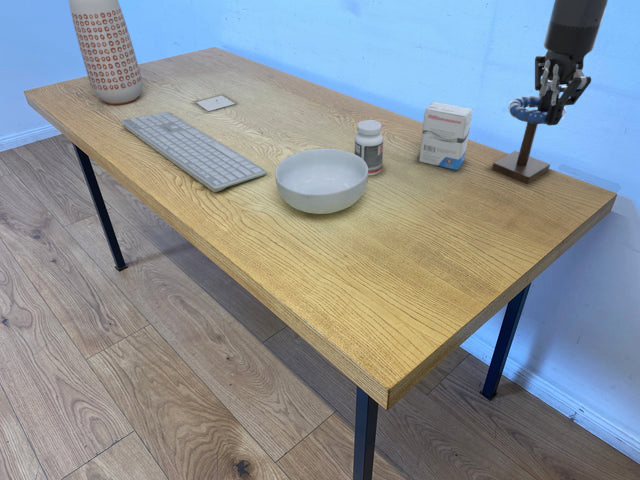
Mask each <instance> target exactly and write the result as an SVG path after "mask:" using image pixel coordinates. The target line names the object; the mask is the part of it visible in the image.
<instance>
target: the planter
mask: <svg viewBox="0 0 640 480" xmlns="http://www.w3.org/2000/svg"><path fill="white" fill-rule="evenodd" d="M68 4H69V9H70V10H69V11H70V14H71V19H72V23H73V28H74V31H75V36H76V40H77V42H78V43H77V44H78V45H79V46H78V47H79V50H80V54H81V57H82V61H83V65H84V68H85V71H86V74H87V78H88V81H89V85H90V86H91V89H92V91H93V93H94V94H95V96H97V98H99V99H100V100H101V101H103V102H104V103H105V104H107V105H110V106H122V105H127V104H131V103H133V102H135V101H136V100H138V97H139V95H140V94H141V92H142V89H143V79H142V74H141V70H140V67H139V64H138V60H137V55H136V52H135V48H134V46H133V42H132V39H131V35H130V33H129V30H128V25H127V23H126V19H125V17H124V13H123V11H122V7H121V5H120V2H119V0H68Z"/></svg>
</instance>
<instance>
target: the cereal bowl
mask: <svg viewBox="0 0 640 480" xmlns="http://www.w3.org/2000/svg"><path fill="white" fill-rule="evenodd" d="M274 177H275V183H276V184H275V185H276V188H277V191H278V194H279V195H280V196H281V198H282V200H283V201H284V202H285V203H286V204H287V205H289V206H290V207H292V208H294V209H296V210H297V211H300V212H304V213H306V214H307V213H308V214H317V215H319V214H320V215H323V214H325V215H326V214H332V213H336V212H340V211H343V210H346V209H347V208H349V207H351V206H353V205H354V204H355V203H357V202H358V201H359V200H360V198H361V197H363V195H364V193H365V191H366V189H367V186H368V182H369V175H368V166H367V164H366V162H365V161H364V160H363V159H362V158H360V157H359V156H357V155H355V153H353V152H350V151H347V150H343V149H340V148H339V149H338V148H329V147H328V148H326V147H325V148H324V147H323V148H311V149H306V150H301V151H298V152H296V153H292V154H291V155H289V156H287V157H285V158H284V159H283V160H281V161H280V162H279V164H278V165H277V167H276V169H275V172H274Z"/></svg>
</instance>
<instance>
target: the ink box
mask: <svg viewBox="0 0 640 480" xmlns="http://www.w3.org/2000/svg"><path fill="white" fill-rule="evenodd" d="M473 111H474V109H473V108H469V107H463V106H457V105H453V104H447V103H441V102H437V101H433V102H432V103H430V104H429V105H428V106H427V107H426V108H425V109H424V113H423V114H424V115H423V123H422V132H421V133H422V134H421V140H420V149H419V157H418V160H419V163H423V164H427V165H433V166H438V167H441V168H445V169H449V170H454V171H458V170H459V169H460V168H461V167H462V165H463V163H464V162H465V157H466V152H467V146H468V142H469V141H468V139H469V134H470V129H471V123H472V117H473V113H474V112H473Z"/></svg>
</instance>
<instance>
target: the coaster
mask: <svg viewBox="0 0 640 480" xmlns="http://www.w3.org/2000/svg"><path fill="white" fill-rule="evenodd" d="M195 104H197V105H199V106H200V107H201V108H203V109H205V110H206V111H207V112H210V111H215V110H218V109H222V108H225V107H228V106H233V105H235V104H236V102H233V101H232V100H230V99H228V98H227V97H225V96H223V95H219V96H214V97H211V98H207V99H203V100H199V101H196V102H195Z"/></svg>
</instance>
